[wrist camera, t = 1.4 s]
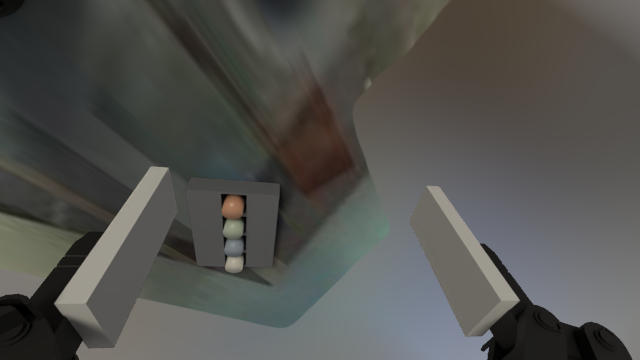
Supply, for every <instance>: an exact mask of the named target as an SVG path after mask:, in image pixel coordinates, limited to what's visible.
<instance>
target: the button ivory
mask: <svg viewBox="0 0 640 360" xmlns="http://www.w3.org/2000/svg"><path fill="white" fill-rule="evenodd" d="M244 256H245V255H244V253H242V254H241V255H240V256H238V257H230V256H227V261H226V265H225V269H226V270H227V271H228V272H230V273H238V272H240V271H242V269H243V263H244Z"/></svg>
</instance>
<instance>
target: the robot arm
mask: <svg viewBox="0 0 640 360" xmlns="http://www.w3.org/2000/svg"><path fill="white" fill-rule="evenodd" d="M23 1H24V0H0V17H4V16H7V15H10V14H12V13H13V12H15V11H16V10H17V9H18V8H19V7H20V6H21V5H22V3H23ZM176 213H177V206H176V201H175V196H174V191H173V186H172V181H171V176H170V172H169V168H163V167H150V169H149V170H148V172H147V173H146V174H145V176H144V177H143V179H142V180H141V181H140V183H139V184H138V186H137V187H136V189H135V190H134V191H133V193H132V194H131V196H130V197H129V198H128V200H127V201H126V203H125V204H124V205H123V207H122V208H121V210H120V211H119V213H118V214H117V215H116V217H115V218H114V220H113V221H112V222H111V224H110V225H109V227H108V228H107V229H106V231H105V232H88V233H87V234H86V235H84V236H83V237H81V238H80V239H79V240H77V241H76V242H75V243H74V244H73V245H72V246H71V248H70V249H69V250H68V252H67V253H66V254H65V257H63V258H62V259H61V260H60V262H59V263H58V264H57V267H56V268H54V269H53V270H52V272H51V273H50V274H49V276H48V277H47V278H46V279H45V281H44V282H43V283H42V284H41V286H40V287H39V288H38V289H37V291H36V292H35V293H34V294H33V296H32V297H31V298H30V299H29V298H28V297H27V296H24V295H20V294H13V295H5V296H2V297H0V360H79V358H78V356H77V355H76V351H77V349H78V348H79V346H80V344H81V342H82V341H83V342H84V343H85V344H86V346H87V347H88V348H114V347H115V345H116V343H117V340H118V338H119V336H120V334H121V331H122V330H123V327H124V325H125V323H126V321H127V319H128V317H129V314H130V312H131V310H132V308H133V306H134V304H135V301H136V299H137V297H138V295H139V293H140V291H141V289H142V287H143V284H144V282H145V280H146V278H147V276H148V274H149V271H150V269H151V267H152V265H153V263H154V261H155V258H156V256H157V254H158V252H159V250H160V248H161V246H162V243H163V241H164V239H165V237H166V235H167V233H168V230H169V228H170V226H171V224H172V222H173V220H174V218H175V215H176ZM409 222H410V224H411V226H412V228H413V230H414V233H415V235H416V237H417V238H418V241H419V243H420V245H421V247H422V249H423V251H424V253H425V255H426V257H427V259H428V261H429V263H430V265H431V267H432V269H433V271H434V273H435V275H436V277H437V279H438V282H439V284H440V286H441V288H442V290H443V292H444V294H445V296H446V298H447V300H448V302H449V304H450V306H451V308H452V310H453V312H454V314H455V316H456V318H457V320H458V322H459V324H460V326H461V328H462V330H463V333H464V335H465V337H467V336H468V337H469V336H482V335H484V334H485V333H486V332H487V331H488V330H489V329H490V330H491V332H492V334H493V337H492V338H491V339H490V340H489V341H488V342H487V343H486V344H484V345H483V346H482V348H481V351H483V352H484V351H485V350H486V349H487V348H488V347H489V352H488V359H487V360H632V358H631V356H630V354H629V352H628V351H627V349H626V347H625V346H624V344H623V343H622V341H620V339H619V338H618V337H617V336H616V335H615V334H614V333H612V332H611V331H610V330H608V329H607V328H605V327H603V326H602V325H600V324H598V323H593V322H588V323H585V324H584V325H582V326H581V327H579V328H578V327H575V326H572V325H568V324H565V323H562V322H560V321H559V320H558V319H557V318H556V317H555V316H554V315H553V314H552V313H551V312H549V311H548V310H546V309H545V308H543V307H540V306H538V305H533V303H532V302H531V301H530V300H529V298H528V297H527V296H526V294H525V293H524V292H523V290H522V289H521V287H520V286H519V285H518V284H517V282H516V281H515V279H514V278H513V277H512V275H511V274H510V273H508V270H507V269H506V267H505V266H504V265H503V264H502V262H501V261H500V259H499V258H498V256H497V255H496V254H495V252H493V251H492V250H491V249H490V248H489V247H487V246H486V245H485V244H479V242H478V241H477V240H476V238H475V237H474V235H473V234H472V233H471V231H470V230H469V228H468V227H467V225H466V224H465V223H464V221H463V220H462V218H461V217H460V216H459V214H458V213H457V211H456V210H455V209H454V207H453V206H452V204H451V203H450V201H449V200H448V199H447V197H446V196H445V194H444V193H443V192H442V190H441V189H440V187H437V186H426V187H425V189H424V191H423V194H422V196H421V198H420V200H419V202H418V204H417V206H416V208H415V210H414V212H413V215H412V216H411V218H410V220H409Z"/></svg>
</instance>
